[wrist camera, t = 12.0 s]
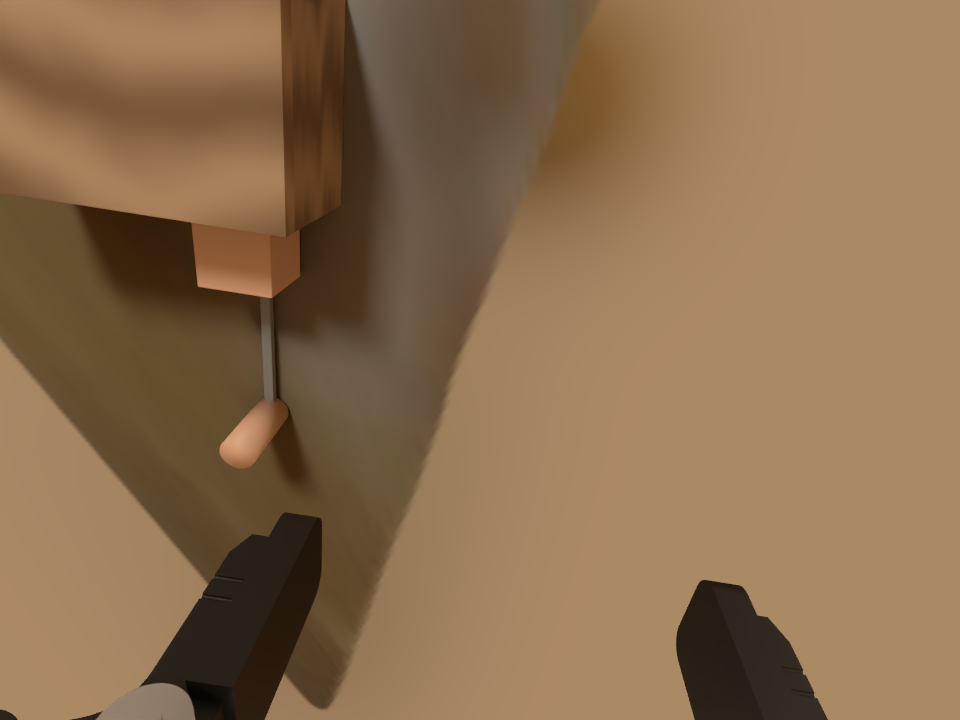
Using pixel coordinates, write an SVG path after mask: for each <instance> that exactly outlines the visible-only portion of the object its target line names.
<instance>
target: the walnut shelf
mask: <svg viewBox="0 0 960 720" xmlns="http://www.w3.org/2000/svg"><path fill="white" fill-rule="evenodd" d="M345 8H346V0H0V192H1V193H7V194H13V195H20V196H26V197H32V198H39V199H45V200H51V201H58V202H64V203H71V204H77V205H83V206H90V207H96V208H102V209H109V210H115V211H121V212H128V213H134V214H140V215H147V216H153V217H160V218H166V219H172V220H179V221H185V222H191V223H198V224H204V225H210V226H217V227H223V228H230V229H236V230H242V231H249V232H255V233H261V234H268V235H274V236H280V237H287V236H289V235H291V234H292V233H294V232H296V231H298V230H299V229H301V228H303V227H305V226H306V225H308V224H310V223H312V222H313V221H315V220H317V219H319V218H320V217H322V216H324V215H326V214H327V213H329V212H331V211H333V210H334V209H336V208H338V207H339V206H341V185H342V141H343V97H344V52H345Z"/></svg>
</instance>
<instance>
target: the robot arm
mask: <svg viewBox="0 0 960 720" xmlns="http://www.w3.org/2000/svg"><path fill="white" fill-rule="evenodd" d="M321 569H322V520H321V518H318V517H312V516H306V515H299V514H293V513H287V512H285V513H283V514H282V516H281V517H280V518H279V520H278V522H277V523H276V525H275V527H274V529H273V530H272V532H271V534H270V535H269V537H267V536H260V535H254V534H252V535H251V536H249V537H248V538H247V539H246V540H244V541H243V542H242V543H240V544H239V545H238V546H237V547H235V548H234V549H233V550H232V551H230V552H229V554H228V555H227V557H226V558H225V560H224V561H223V563H222V565H221V566H220V568H219V569H218V571H217V572H216V574H215V577H214V579H212V580H211V582H210V583H209V585H208V586H207V588H206V589H205V591H204V592H203V595H202V598H201V599H199V600H198V602H197V603H196V605H195V606H194V608H193V609H192V611H191V612H190V614H189V615H188V617H187V619H186V620H185V622H184V623H183V625H182V626H181V628H180V629H179V631H178V633H177V634H176V635H175V637H174V639H173V640H172V642H171V643H170V645H169V646H168V648H167V649H166V651H165V652H164V654H163V656H162V657H161V659H160V660H159V662H158V663H157V665H156V666H155V668H154V669H153V671H152V672H151V674H150V675H149V676H148V678H147V679H146V680H145V681H144V683H142V684H141V686H140V687H139V688H136V689H134V690H132V691H130V692H128V693H126V694H124V695H123V696H121V697H119V698H118V699H117V700H115V701H114V702H113V703H111V704H110V705H109V706H108V707H107V708H106V709H105V710H104V711H102V712H99V713H96V714H93V715H91V716H86V717H82V718H78V719H72V720H265V717H266V715H267V713H268V710H269V708H270V705H271V703H272V700H273V698H274V696H275V693H276V691H277V688H278V686H279V684H280V681H281V679H282V677H283V674H284V672H285V669H286V667H287V665H288V662H289V660H290V657H291V655H292V653H293V650H294V648H295V645H296V643H297V641H298V638H299V636H300V633H301V631H302V628H303V626H304V624H305V621H306V619H307V616H308V614H309V612H310V609H311V607H312V604H313V602H314V599H315V597H316V594H317V590H318V587H319V582H320V577H321ZM676 649H677V656H678V661H679V665H680V668H681V672H682V675H683V679H684V683H685V686H686V690H687V693H688V697H689V701H690V704H691V708H692V711H693V715H694V718H695V720H828V719H827V717H826V715H825V713H824V711H823V709H822V707H821V705H820V703H819V701H818V699H817V698H815V697H814V691H813V689H812V687H811V685H810V683H809V681H808V679H807V677H806V675H803V669H802V667H801V665H800V663H799V661H798V659H797V657H796V655H795V653H794V650H793V648H792V646H791V644H790V643H789V641H788V640H787V639H786V638H785V637H784V635H783V634H782V633H781V632H780V631H779V630H778V629H777V627H776V626H775V625H774V624H773V623H772V622H771V621H770V620H769V618H768V617H762V616H757V614H756V612H755V610H754V608H753V605H752V603H751V601H750V599H749V596H748V594H747V592H746V591H745V590H744V588H743V587H741V586H739V585H733V584H727V583H720V582H714V581H708V580H702V581H701V582H700V583H699V584H698V586H697V588H696V590H695V592H694V594H693V597H692V599H691V601H690V603H689V605H688V607H687V610H686V612H685V614H684V616H683V618H682V621H681V623H680V625H679V628H678V631H677V639H676ZM0 720H17V718H16V717H15V716H14V715H13V714H11V713H9V712H7V711H4V710H0Z"/></svg>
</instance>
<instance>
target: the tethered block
mask: <svg viewBox="0 0 960 720" xmlns="http://www.w3.org/2000/svg"><path fill="white" fill-rule="evenodd" d="M191 224H192V234H193V243H194V253H195V263H196V273H197V283H198V287H204V288H210V289H217V290H223V291H229V292H236V293H242V294H248V295H255V296H260V310H261V331H262V352H263V373H264V394H265V397H264V398H262V399H261V400H260V401H259V402H258V403H257V404H256V405H255V406H254V408H253V409H252V410H251V411H250V412H249V413H248V414H247V416H246V417H245V418H244V419H243V420H242V421H241V422H240V423H239V425H238V426H237V427H236V428H235V429H234V430H233V431H232V433H231V434H230V435H229V436H228V437H227V438H226V439H225V441H224V442H223V443H222V444H221V446H220V454H221V456H222V458H223V459H224V461H225V462H226V463H228V464H229V465H231V466H233V467H235V468H241V469H244V468H248V467H250V466H252V465H253V464H254V462H255V461H256V460H257V458H258V457H259V456H260V454H261V453H262V452H263V450H264V449H265V448H266V446H267V445H268V443H269V442H270V441H271V439H272V438H273V437H274V435H275V434H276V433H277V431H278V430H279V429H280V427H281V426H282V425H283V423H284V422H285V421H286V419H287V418H288V408H287V406H286V405H285V404H284V402H282V401H281V400H280V399H278V398H277V396H276V368H275V340H274V313H273V297H274V296H275V295H277V294H278V293H279V292H281V291H282V290H283V289H284V288H286V287H287V286H288V285H289V284H291V283H292V282H293V281H295V280H296V279H297V278H298V277H300V229H299V230H298V231H296V232H294V233H292V234H291V235H289V236H287V237H280V236H274V235H268V234H261V233H255V232H249V231H242V230H236V229H230V228H223V227H217V226H210V225H204V224H198V223H191Z"/></svg>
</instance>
